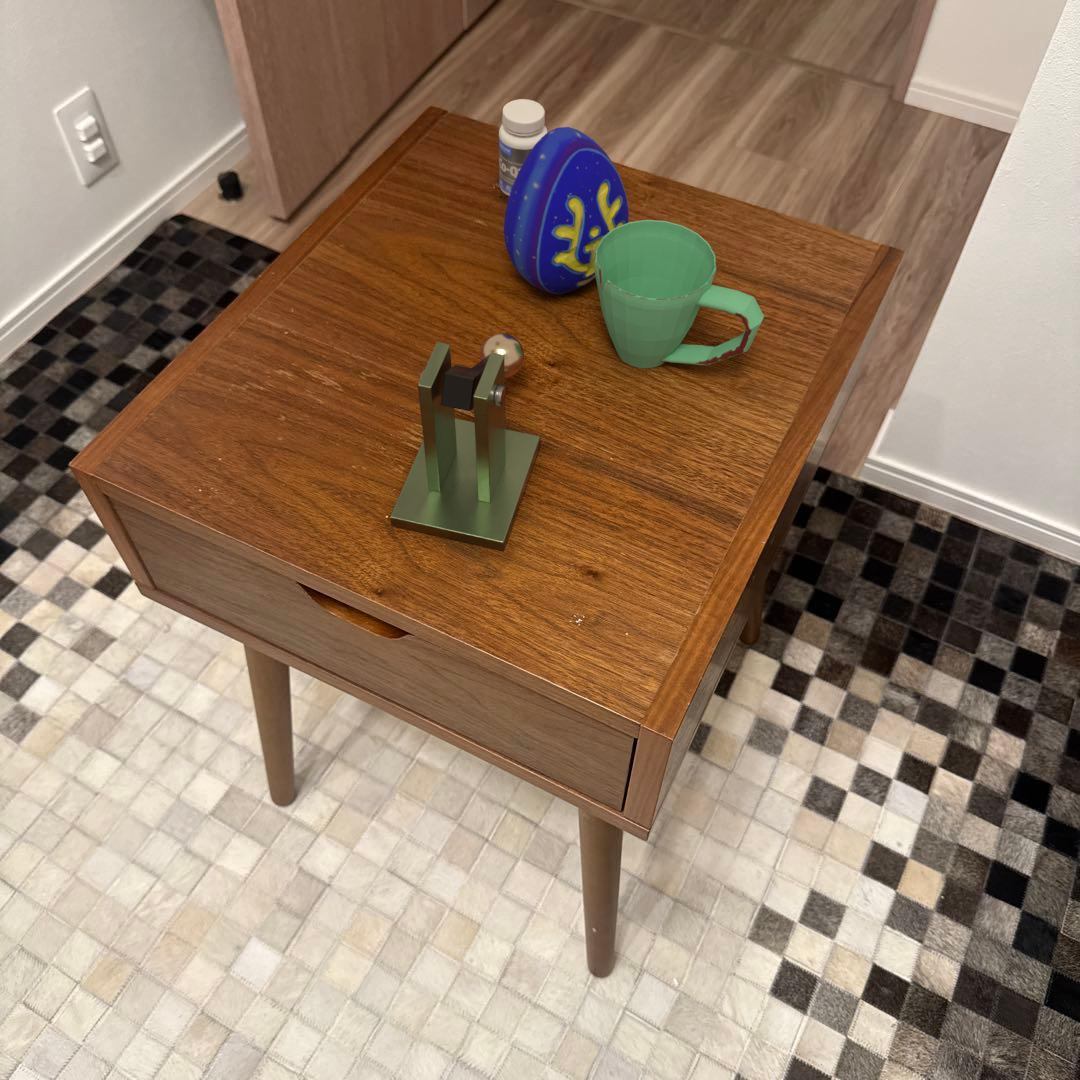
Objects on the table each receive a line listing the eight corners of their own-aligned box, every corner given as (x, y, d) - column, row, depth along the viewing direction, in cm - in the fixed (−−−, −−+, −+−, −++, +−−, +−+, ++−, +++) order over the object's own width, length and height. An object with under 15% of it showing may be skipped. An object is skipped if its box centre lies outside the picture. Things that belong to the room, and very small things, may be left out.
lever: (483, 368, 90) (489, 326, 88) (525, 377, 89) (531, 334, 88) (429, 411, 76) (435, 362, 74) (478, 421, 75) (485, 372, 74)
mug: (567, 361, 93) (572, 271, 85) (620, 296, 98) (630, 205, 90) (720, 428, 89) (741, 339, 81) (767, 356, 94) (791, 266, 86)
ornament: (544, 329, 96) (548, 186, 83) (483, 274, 100) (478, 130, 87) (637, 279, 100) (654, 135, 87) (575, 228, 104) (583, 84, 92)
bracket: (435, 423, 89) (424, 305, 78) (540, 445, 88) (543, 328, 77) (391, 526, 83) (373, 413, 72) (503, 551, 81) (502, 440, 71)
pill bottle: (491, 193, 107) (489, 117, 100) (511, 167, 109) (510, 91, 102) (534, 206, 106) (536, 130, 99) (553, 179, 108) (556, 103, 101)
